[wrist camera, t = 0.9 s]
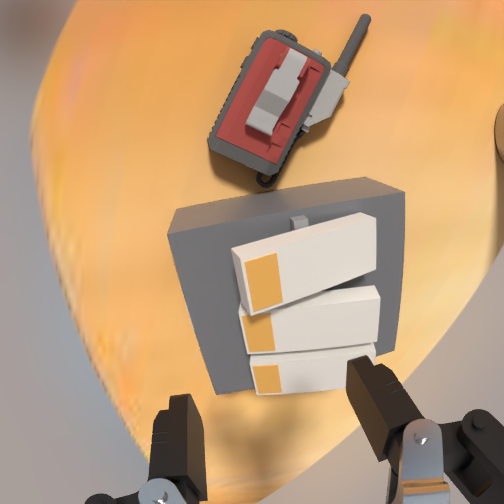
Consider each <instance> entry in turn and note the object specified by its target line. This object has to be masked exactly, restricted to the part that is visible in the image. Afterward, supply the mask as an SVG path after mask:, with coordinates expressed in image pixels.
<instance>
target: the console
mask: <svg viewBox="0 0 504 504" xmlns="http://www.w3.org/2000/svg"><path fill="white" fill-rule="evenodd" d="M359 212H361V213H364V214H366V215H369V216H372V217H375V218H376V270H373V271H371V272H368V273H366V274H363V275H361V276H358V277H356V278H353V279H351V280H348V281H346V282H343V283H341V284H338V285H335V286H333V287H330V288H327V289H325V290H322V291H329V290H338V289H347V288H355V287H364V286H372V285H375V287H376V289H377V291H378V294H379V296H380V298H381V299H380V314H379V326H378V337H377V342H373V343H374V346H375V350H376V356H379V355H382V354H385V353H388V352H391V351H394V349H395V342H396V335H397V328H398V320H399V311H400V301H401V291H402V278H403V263H404V241H405V192H404V191H401V190H399V189H396V188H393V187H391V186H388V185H386V184H383V183H380V182H378V181H375V180H372V179H370V178H367V177H361V178H353V179H346V180H339V181H332V182H325V183H318V184H312V185H305V186H299V187H292V188H286V189H280V190H274V191H268V192H263V193H257V194H251V195H246V196H240V197H235V198H230V199H224V200H219V201H214V202H209V203H204V204H199V205H194V206H189V207H184V208H180V209H176V212H175V214H174V217H173V220H172V222H171V225H170V228H169V230H168V233H167V236H168V240H169V244H170V250H171V253H172V257H173V261H174V265H175V268H176V272H177V275H178V279H179V281H180V284H181V288H182V291H183V295H184V298H185V301H186V306H187V310H188V313H189V316H190V320H191V323H192V326H193V329H194V331H195V334H196V337H197V340H198V343H199V346H200V351H201V354H202V357H203V360H204V363H205V366H206V369H207V372H208V373H209V376H210V379H211V382H212V385H213V388H214V390H215V393H216V395H220V394H226V393H232V392H237V391H243V390H248V389H253V388H255V385H254V381H253V376H252V372H251V367H250V357H251V354H247V350H246V345H245V341H244V336H243V331H242V327H241V322H240V318H239V313H238V312H239V307H240V303H241V297H240V292H239V287H238V282H237V277H236V272H235V267H234V262H233V257H232V251H231V248H234V247H237V246H241V245H244V244H248V243H251V242H255V241H259V240H262V239H266V238H269V237H273V236H276V235H280V234H283V233H287V232H291V231H294V230H298V229H301V228H305V227H309V226H312V225H316V224H319V223H323V222H327V221H330V220H334V219H337V218H341V217H345V216H348V215H352V214H356V213H359ZM376 356H375V357H376Z"/></svg>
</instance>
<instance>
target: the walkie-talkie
mask: <svg viewBox="0 0 504 504" xmlns="http://www.w3.org/2000/svg"><path fill="white" fill-rule="evenodd" d="M370 22H371V17H370V16H369V15H368V14H363V15H361V17H360V19H359V21H358V23H357V25H356V27H355V29H354V31H353V33H352V34H351V36H350V38H349V40H348V42H347V44H346V46H345V48H344V50H343V52H342V54H341V56H340V58H339V60H338V62H336V63H335V64H334V66H333V68H332V70H331V64H330V62H329V61H327V60H326V59H325V58H324V57H322V56H321V55H322V53H321V52H320V51H318V50H316V49H314V50H313V51H311V50H309V49H308V48H306V47H304V46H302V45H300V44H298V43H297V38H296V37H295V36H294V35H293V34H292V33H290V32H288V31H285V30H276V31H275V32H274V31H270V30H267V31H264V32H263V33H262V34H261V36H260V38H258V37H257V38H256V40H255V42H254V44H253V45H252V47H251V49H252V51H251V53H250V55H249V56H247V57H246V58H245V60H244V62H243V63H242V65H241V67H240V68H242V70H241V72H240V74H239V76H238V77H237V80H236V81H235V83H234V85H233V87H232V89H231V91H230V93H229V96H228V97H227V99H226V102H225V103H224V105H223V106H224V107H223V108H222V109H221V111H220V112H221V113H220V114H219V115H218V119H217V120H216V121H215V125H214V126H213V127H212V128H213V130H212V132H210V133H209V134H210V136H209V138H207V141H208V144H209V147H210V150H212V151H214V152H217V153H219V154H221V155H224V156H226V157H228V158H230V159H233V160H235V161H237V162H239V163H242V164H244V165H246V166H248V167H250V168H253V169H255V170H257V171H258V173H257V177H256V180H257V183H258V184H260V185H261V186H262V187H265V188H267V187H270V186H272V185H273V184H274V182H275V181H276V179H277V177H278V175H279V173H280V171H281V169H282V167H283V165H284V163H285V161H286V159H287V157H288V155H289V153H290V151H291V149H292V147H293V146H294V144H295V142H296V140H297V139H298V138H300V137H301V136H302V135H303V134H304V133H305V132H309V130H310V128H311V126H312V125H313V124H316V123H318V122H320V121H322V120H324V119H327V118H329V117H331V115H332V113H333V111H334V109H335V107H336V105H337V103H338V101H339V99H340V97H341V95H342V93H343V91H344V89H346V88H347V87H348V85H349V83H350V81H349V80H347V79H346V78H344V77H345V75H346V73H347V71H348V66H349V64H350V62H351V60H352V58H353V56H354V54H355V52H356V50H357V48H358V46H359V44H360V42H361V40H362V38H363V36H364V34H365V32H366V30H367V28H368V26H369V24H370ZM299 130H300V131H299ZM297 132H298V133H297ZM262 174H265V175H268V176H270V175H272V174H273V175H272V177H271V179H270V180H269V181H268V182H266V183H264V182H263V181H262V180H261V178H262Z"/></svg>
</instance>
